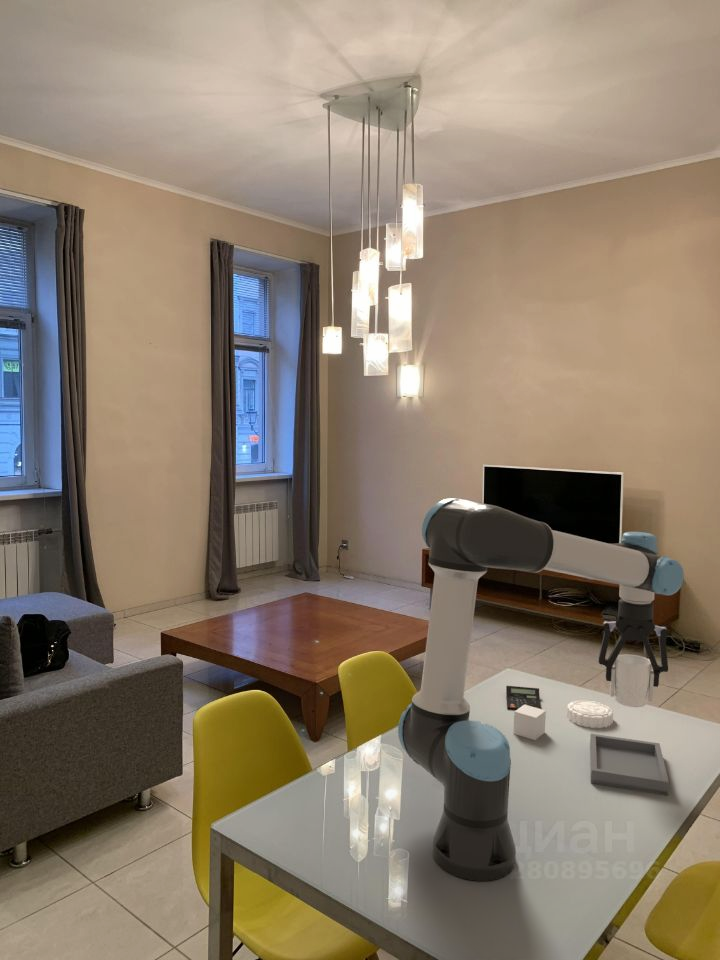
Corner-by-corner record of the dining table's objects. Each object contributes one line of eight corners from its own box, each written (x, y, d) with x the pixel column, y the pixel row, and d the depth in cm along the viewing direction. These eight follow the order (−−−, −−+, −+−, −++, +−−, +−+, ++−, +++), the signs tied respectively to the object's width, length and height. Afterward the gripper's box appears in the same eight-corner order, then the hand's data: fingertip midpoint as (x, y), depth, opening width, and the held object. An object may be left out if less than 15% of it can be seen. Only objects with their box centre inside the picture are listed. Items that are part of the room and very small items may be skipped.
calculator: (507, 710, 203) (507, 699, 202) (505, 695, 214) (506, 685, 214) (541, 713, 201) (542, 702, 201) (538, 697, 212) (538, 687, 212)
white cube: (523, 726, 192) (524, 704, 191) (544, 732, 188) (545, 710, 188) (513, 733, 187) (514, 711, 186) (535, 740, 183) (536, 717, 183)
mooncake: (569, 727, 192) (570, 714, 192) (563, 709, 204) (564, 696, 204) (616, 730, 191) (617, 717, 190) (607, 712, 202) (608, 700, 202)
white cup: (622, 692, 173) (624, 651, 172) (654, 702, 168) (657, 660, 167) (606, 701, 168) (608, 659, 167) (639, 711, 162) (642, 668, 161)
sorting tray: (667, 795, 157) (668, 782, 157) (590, 782, 162) (591, 770, 162) (658, 755, 177) (659, 743, 176) (589, 745, 181) (590, 733, 181)
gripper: (682, 600, 166) (677, 697, 168) (589, 592, 172) (584, 685, 174) (687, 608, 159) (681, 709, 161) (589, 599, 165) (584, 696, 167)
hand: (630, 696), depth 168 cm, fingers closed on white cup, 8 cm apart
